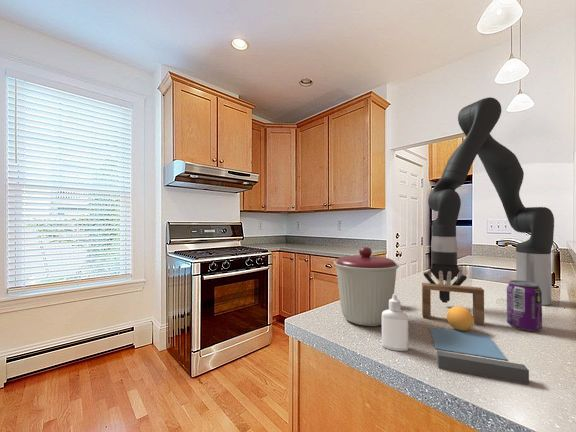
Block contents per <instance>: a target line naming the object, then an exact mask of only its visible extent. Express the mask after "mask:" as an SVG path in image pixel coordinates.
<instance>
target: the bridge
mask: <svg viewBox="0 0 576 432" xmlns="http://www.w3.org/2000/svg"><path fill="white" fill-rule="evenodd" d="M431 291H437V292H438V291H450V293H463V294H472V315H473V318H474V323H473V324H475V325H476V326H483V327H485V290H484V288H482V287H481V286H480V287H478V286H466V285H464V286H463V285H460V286H455V285H452V284H451V285H445V284H444V285H443V284H438V283H436V284H431V283H430V282H429V283H427V282H422V283H421V312H422V313H421V315H422V319H427V320H431V317H432V311H431V310H432V305H431V304H432V303H431V299H432V297H431V295H432V294H431Z"/></svg>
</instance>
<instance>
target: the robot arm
mask: <svg viewBox="0 0 576 432" xmlns="http://www.w3.org/2000/svg"><path fill="white" fill-rule="evenodd" d="M501 115H502V105H501V103H500V101H499V100H498V99H497V98H495V97H485V98H482V99H478V100H477V101H475V102H473V103H471V104H470V103H469V104H468V105H466V106H464V107H462V108H461V109H460V110H459V112H458V114H457V121H458V125H459V127H460V129H461V131H462V132H463V134H464V136H465V137H464V139H463V140H462V142H461V143H460V144H459V145H458V147H457V148H456V149H455V150H454V152H452V154H451V155H450V157H449V159H448V160H447V162H446V164H445V167H444V169H443V172H442V174H441V176H440V178H439V180H438V181H437V182H436V184H435V185H434V187H433V188H432V190H431V192H430V194H429V196H428V199H427V203H428V206H429V209H431V210H433V211H434V212H437V216H436V218H435V219H434V220H432V222H431V223H432V224H431V241H430V246H431V247H430V248H431V250H430V251H431V253H430V254H431V260H430V261H431V263H430V264H431V265H430V266H429V270H427V271H424V272H423V276H424V277H425V279H426V280H427V281H428V282H429V283H430V284H443V285H455V286H462V284H463V283H464V282H465V281H466V280H467V276H466V275H465V274H463V273H462V272H460V269H459V267H458V241H457V221H458V219H459V214H460V210H461V203H462V202H461V201H462V200H461V197H460V195H459V193H458V192H457V189H458V188H460V187H462V186H463V184H464V183H465V182H466V181H467V180H466V179H467V177H468V174H470V173H469V172H470V170H471V167H472V165H473V164H474V161H475V159H476V157H477V156H478V158H479V159H480V161H481V163H482V165H483V168H484V170H485V172H486V174H487V176H488V177H489V179H490V181H491V184H492V185H493V187H494V188H495V191H496V193H497V194H498V195H497V196H498V197H499V199H500V202H501V204H502V207H503V209H504V212H505V215H506V219H507V221H508V223H509V225H510V227H511V229H513V230H514V231H515V232H517V233H521V234H530V237H529V238H528V239H527V240H525V241H522V242H519V243H517V244H516V245H515V265H516V266H515V269H516V270H515V273H516V274H515V280H519V281H528V282H533V283H537V284H539V288H540V290H541V292H542V306H550V305H552V301H553V300H552V290H553V289H552V247H553V245H554V236H555V235H554V234H555V233H554V232H555V217H554V216H555V215H554V213H553V212H552V210H551V209H550V208H548V207H546V206H534V207H533V206H532V207H531V206H528V207H526V206H525V205H524V204H523V202H522V199H521V196H520V191H521V187H522V184H523V181H524V175H525V173H524V169H523V167H522V165H521V163H520V160H519V158H518V157H517V155H516V154H515V153H514V152H513V151H511V150H510V149H509V148H508V147H507V146H505V145H503V144H502V143H500V142H498V141H497V140H496V139H495V138H494V137H493V136H492V135H491V133H492V131H493V129H494V128H495V126H496V125H497V123H498V122H499V119H500V117H501ZM433 276H434V277H435V279H436V280H437V282H438V283H436V282H435V281H434V280H433V278H432V277H433ZM455 278H457V279H456V280H454V279H455ZM453 280H454V282H453V283H452V281H453ZM451 283H452V284H451ZM450 293H451V292H450V291H439V292H438V294H439V295H438V298H439V300H440V301H441V303H445V304H448V302H450V300H451V299H450V298H451V297H450V296H451V294H450Z"/></svg>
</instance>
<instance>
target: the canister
mask: <svg viewBox="0 0 576 432" xmlns="http://www.w3.org/2000/svg"><path fill="white" fill-rule="evenodd" d="M358 253H359V254H358V255H357V254H356V255H345V256H341V257H339V258H338V259H336V260H334V261H333V265H335V266H336V267H335V268H336V277H337V284H338V285H337V286H338V295H339V301H340V302H339V303H340V308H341V313H342V316H343V317H344V318H345V319H346V320H347V321H348V322H350V323H352V324H355V325H359V326H365V327H378V326H382V312H383V311H385V310H388V309H389V300H390V299H392V297H393V294H395V288H396V279H397V278H396V277H397V269H398V268H400V264H399V263H397V262H395V260H393V259H391V258H388V257H385V256H380V255H379V256H378V255H372V253H373V251H372V249H371V248H370V247H368V246H363V247H360V249H359V250H358Z"/></svg>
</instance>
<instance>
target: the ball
mask: <svg viewBox="0 0 576 432" xmlns="http://www.w3.org/2000/svg"><path fill="white" fill-rule="evenodd" d="M446 319H447V322H448V324H449V326H451V327H452V328H453V329H454V330H457V331H465V332H466V331H468V330H470V329H472V328H473V326H474V324H475V323H474V318H473V313H472V312H471V311H469V309H467V308H466V307H464V306H458V305H457V306H452V307H451V308H449V309H448V310H447V313H446Z"/></svg>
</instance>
